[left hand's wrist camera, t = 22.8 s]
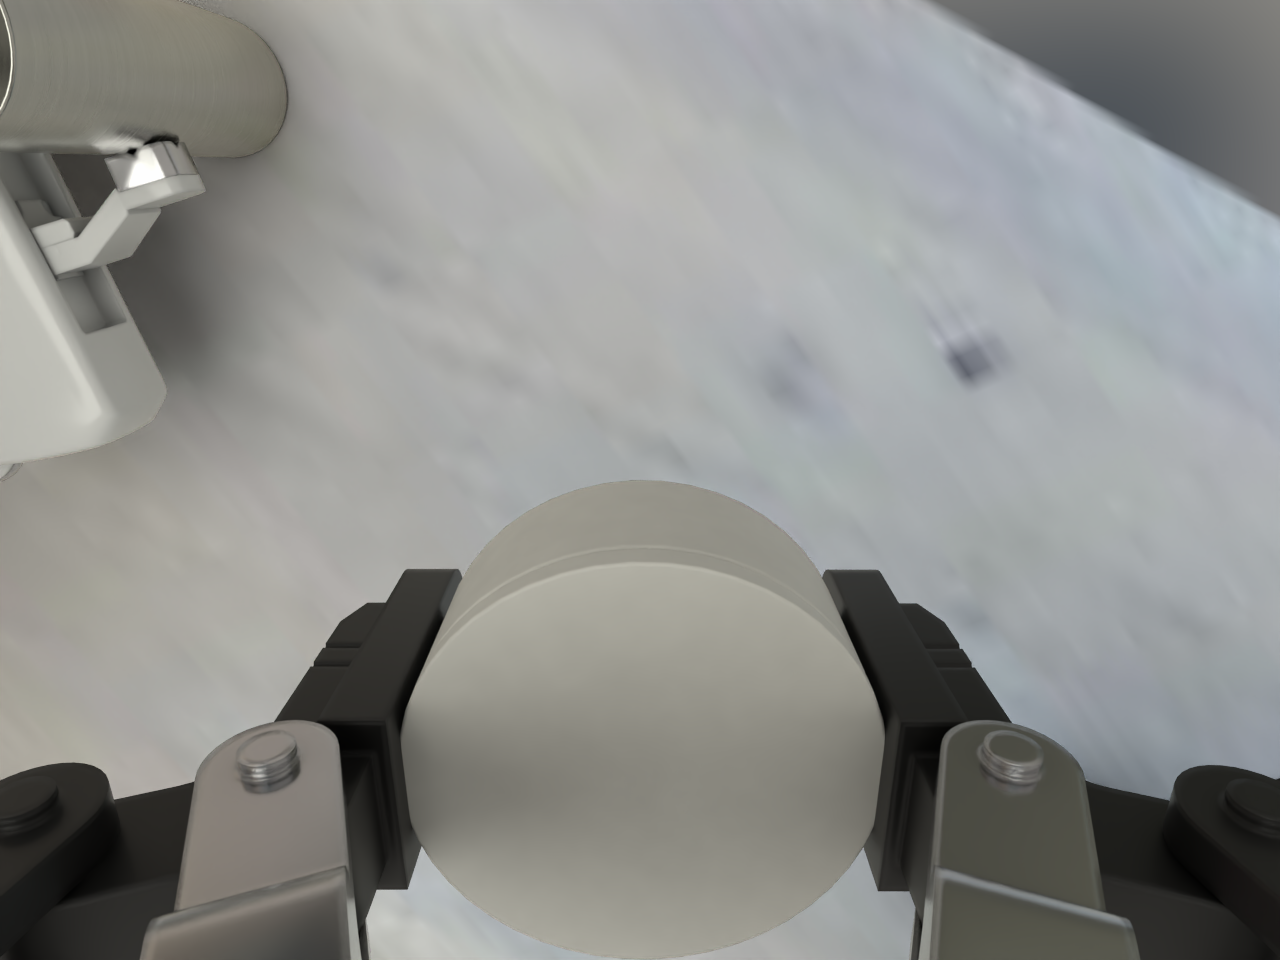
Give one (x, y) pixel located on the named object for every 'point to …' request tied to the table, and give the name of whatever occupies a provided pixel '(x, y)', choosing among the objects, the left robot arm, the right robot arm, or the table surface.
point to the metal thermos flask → (134, 79)
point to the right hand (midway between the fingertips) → (137, 56)
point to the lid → (642, 726)
